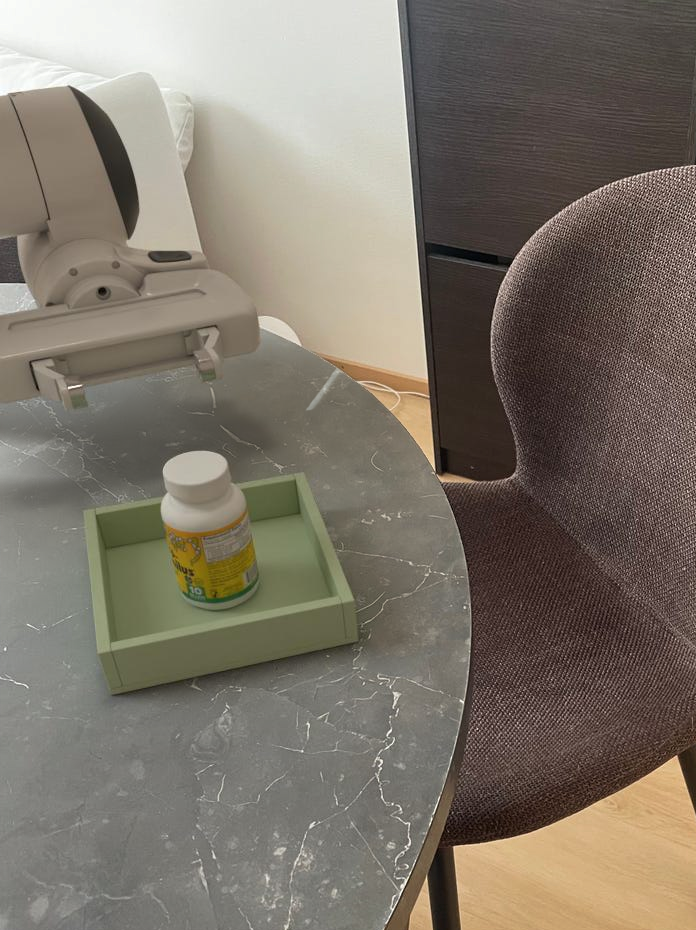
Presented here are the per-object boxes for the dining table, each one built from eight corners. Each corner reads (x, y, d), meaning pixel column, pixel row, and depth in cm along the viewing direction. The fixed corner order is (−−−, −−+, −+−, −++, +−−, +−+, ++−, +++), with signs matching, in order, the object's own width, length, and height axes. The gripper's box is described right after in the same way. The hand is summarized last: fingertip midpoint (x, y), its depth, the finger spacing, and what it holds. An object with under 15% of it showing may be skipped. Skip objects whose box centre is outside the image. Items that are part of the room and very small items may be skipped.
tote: (111, 695, 64) (97, 653, 62) (95, 550, 75) (82, 509, 72) (358, 641, 68) (354, 600, 65) (309, 511, 79) (304, 471, 76)
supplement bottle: (272, 596, 70) (252, 475, 64) (196, 622, 68) (167, 500, 62) (242, 554, 74) (220, 436, 67) (169, 578, 72) (139, 458, 65)
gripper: (-55, 292, 75) (-29, 374, 66) (221, 246, 83) (278, 314, 73) (-28, 372, 80) (0, 459, 71) (232, 322, 87) (288, 395, 78)
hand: (144, 385), depth 72 cm, fingers open, 8 cm apart
